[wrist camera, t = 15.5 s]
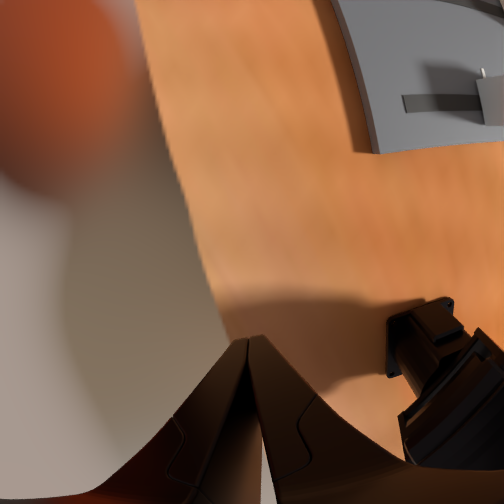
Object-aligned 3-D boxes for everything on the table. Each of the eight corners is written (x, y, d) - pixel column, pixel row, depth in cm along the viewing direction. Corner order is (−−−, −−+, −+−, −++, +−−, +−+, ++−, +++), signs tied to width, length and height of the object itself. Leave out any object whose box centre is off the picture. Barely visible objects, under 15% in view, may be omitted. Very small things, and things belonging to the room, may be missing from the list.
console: (548, 138, 17) (563, 140, 15) (372, 153, 18) (387, 154, 16) (511, 0, 12) (523, -4, 10) (314, -38, 13) (321, -53, 11)
